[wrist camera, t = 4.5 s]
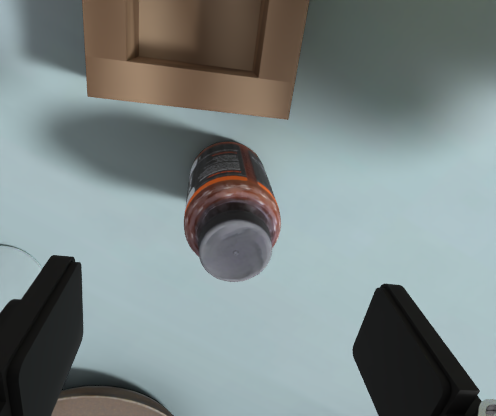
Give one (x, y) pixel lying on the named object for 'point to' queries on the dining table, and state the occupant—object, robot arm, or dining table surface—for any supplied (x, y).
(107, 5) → the socket block
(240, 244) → the supplement bottle
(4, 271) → the beer glass
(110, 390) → the plant saucer
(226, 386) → the dining table surface
